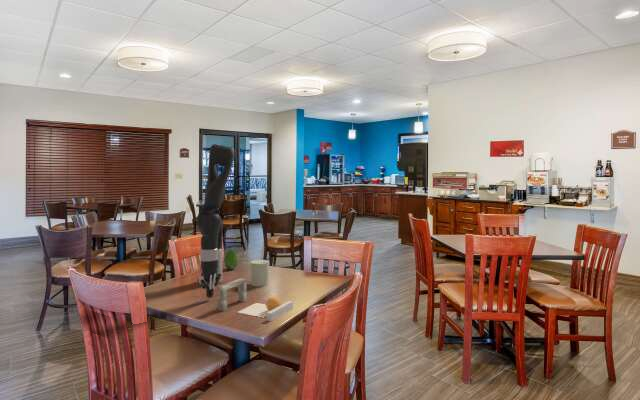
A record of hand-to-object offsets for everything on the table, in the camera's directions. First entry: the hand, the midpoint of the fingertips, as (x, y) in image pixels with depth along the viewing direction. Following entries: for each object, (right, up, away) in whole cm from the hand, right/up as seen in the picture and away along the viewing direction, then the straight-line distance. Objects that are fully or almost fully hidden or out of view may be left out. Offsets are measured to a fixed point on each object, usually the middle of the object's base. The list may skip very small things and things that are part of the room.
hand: (210, 297), depth 173 cm
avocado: (-4, +2, +58) cm, 58 cm away
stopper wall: (+33, -3, -17) cm, 37 cm away
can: (+18, 0, +27) cm, 32 cm away
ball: (+30, 0, -14) cm, 33 cm away
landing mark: (+24, -2, -12) cm, 27 cm away
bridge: (+12, -2, -6) cm, 13 cm away
